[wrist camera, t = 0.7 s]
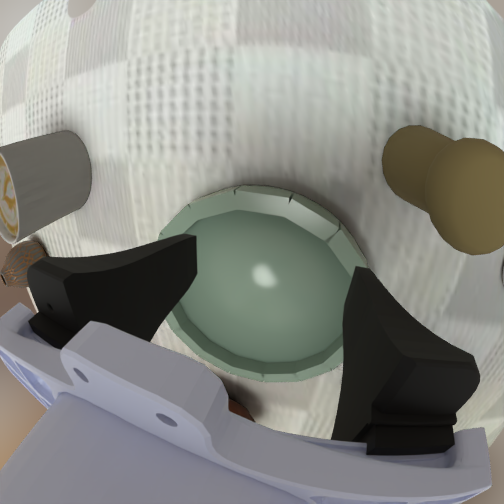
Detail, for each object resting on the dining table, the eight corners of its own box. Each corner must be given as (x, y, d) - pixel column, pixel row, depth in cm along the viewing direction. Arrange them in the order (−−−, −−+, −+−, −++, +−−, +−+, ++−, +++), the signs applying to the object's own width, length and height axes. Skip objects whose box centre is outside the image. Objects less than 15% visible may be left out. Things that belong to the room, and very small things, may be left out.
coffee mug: (98, 144, 23) (18, 166, 15) (86, 223, 28) (23, 261, 20) (39, 117, 24) (-23, 132, 15) (33, 183, 29) (-22, 208, 20)
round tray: (414, 268, 20) (421, 284, 18) (293, 386, 30) (289, 402, 28) (206, 141, 20) (191, 144, 18) (148, 304, 31) (137, 317, 28)
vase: (57, 275, 35) (19, 304, 28) (38, 269, 37) (4, 294, 29) (45, 235, 32) (2, 262, 25) (27, 233, 34) (-11, 256, 26)
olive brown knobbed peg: (396, 111, 16) (463, 99, 6) (462, 148, 15) (553, 179, 5) (370, 184, 19) (406, 245, 9) (435, 215, 18) (500, 293, 8)
